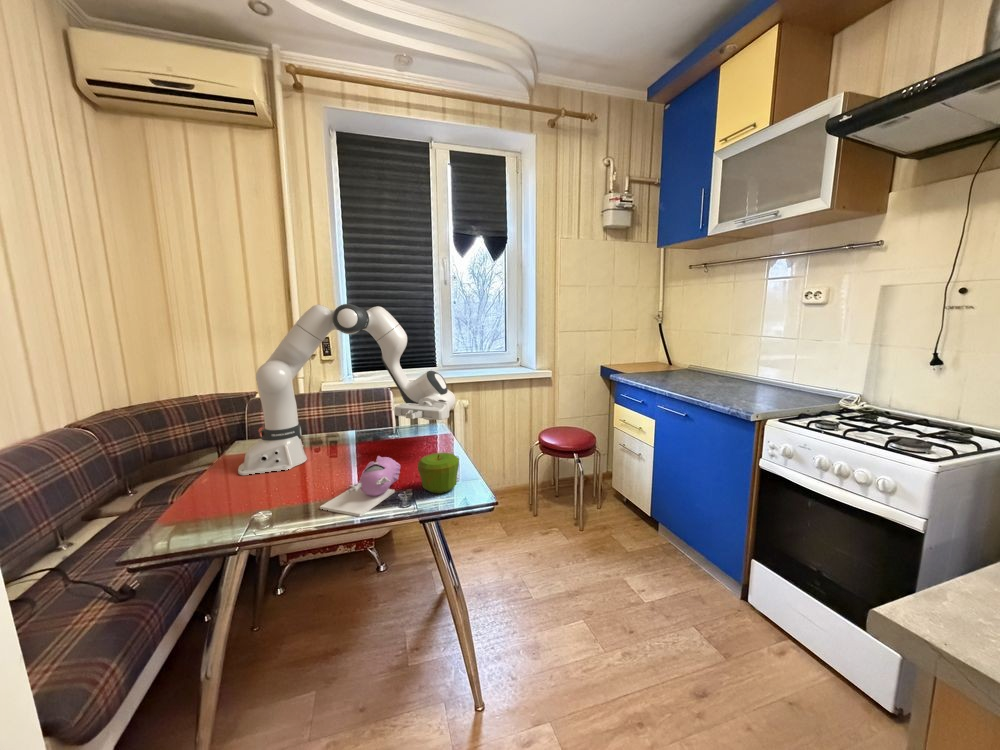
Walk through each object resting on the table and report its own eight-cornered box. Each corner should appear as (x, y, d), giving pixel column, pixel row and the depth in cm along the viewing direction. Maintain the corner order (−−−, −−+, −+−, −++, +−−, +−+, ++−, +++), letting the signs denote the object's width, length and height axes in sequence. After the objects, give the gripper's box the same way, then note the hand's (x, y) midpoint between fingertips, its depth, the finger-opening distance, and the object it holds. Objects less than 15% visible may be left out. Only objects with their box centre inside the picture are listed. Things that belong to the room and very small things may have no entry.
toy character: (400, 450, 135) (384, 466, 115) (405, 481, 136) (389, 502, 116) (364, 455, 135) (341, 471, 115) (368, 486, 136) (346, 508, 116)
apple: (452, 477, 137) (450, 445, 135) (466, 491, 126) (464, 456, 125) (415, 486, 132) (412, 452, 130) (426, 501, 121) (424, 464, 119)
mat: (358, 486, 132) (357, 484, 132) (394, 492, 127) (394, 489, 127) (320, 509, 118) (319, 506, 118) (360, 516, 113) (359, 513, 113)
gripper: (406, 397, 162) (384, 405, 150) (452, 401, 155) (433, 409, 142) (406, 413, 163) (385, 422, 150) (452, 418, 156) (434, 427, 143)
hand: (409, 416), depth 146 cm, fingers closed
